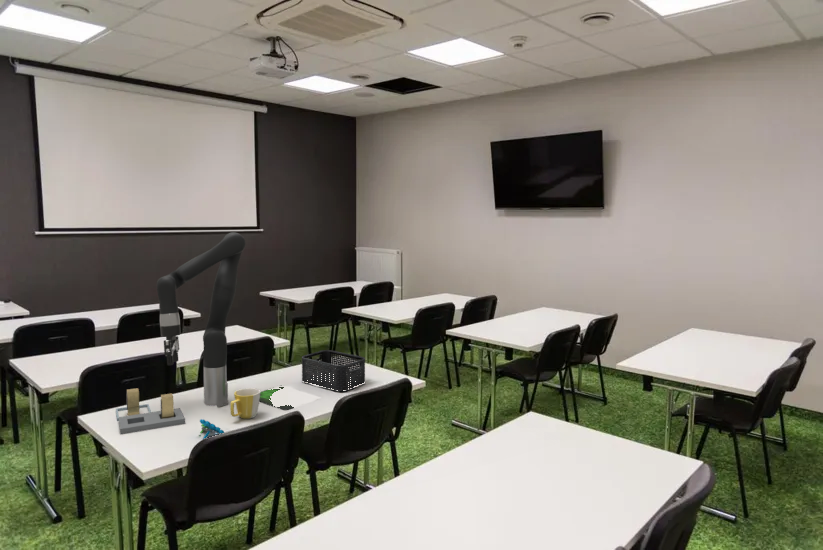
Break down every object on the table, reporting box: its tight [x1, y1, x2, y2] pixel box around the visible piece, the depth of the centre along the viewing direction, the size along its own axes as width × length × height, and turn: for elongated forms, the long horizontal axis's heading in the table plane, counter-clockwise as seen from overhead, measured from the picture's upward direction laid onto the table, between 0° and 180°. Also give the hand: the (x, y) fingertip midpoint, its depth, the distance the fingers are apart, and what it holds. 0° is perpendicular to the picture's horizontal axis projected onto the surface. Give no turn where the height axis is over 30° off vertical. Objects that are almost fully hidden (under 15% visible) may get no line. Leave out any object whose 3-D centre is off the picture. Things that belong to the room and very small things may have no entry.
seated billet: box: [160, 393, 175, 419], centre depth 206 cm, size 4×4×10 cm
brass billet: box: [126, 387, 140, 416], centre depth 213 cm, size 4×4×10 cm
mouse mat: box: [259, 387, 295, 411], centre depth 240 cm, size 27×22×1 cm
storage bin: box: [301, 349, 366, 391], centre depth 262 cm, size 29×19×13 cm
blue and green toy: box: [198, 418, 225, 440], centre depth 194 cm, size 11×6×10 cm
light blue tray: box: [115, 403, 152, 422], centre depth 213 cm, size 12×12×2 cm
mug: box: [229, 387, 261, 420], centre depth 214 cm, size 14×10×10 cm
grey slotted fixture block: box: [118, 407, 186, 435], centre depth 204 cm, size 22×13×3 cm, turn 121°
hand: (173, 363), depth 217 cm, fingers open, 8 cm apart
